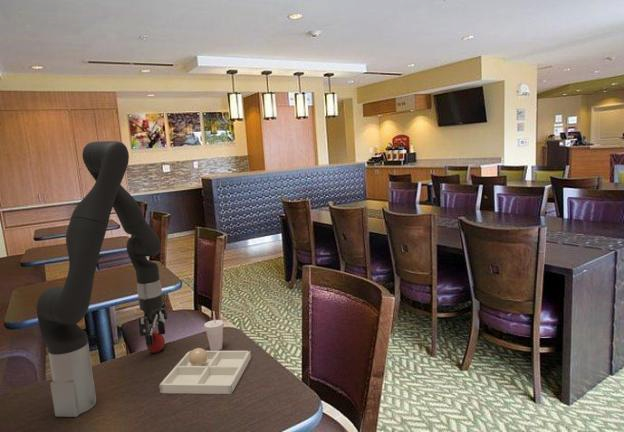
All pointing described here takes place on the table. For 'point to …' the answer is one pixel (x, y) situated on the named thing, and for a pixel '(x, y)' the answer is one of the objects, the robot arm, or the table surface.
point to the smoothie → (214, 333)
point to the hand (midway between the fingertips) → (156, 339)
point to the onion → (156, 342)
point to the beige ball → (198, 357)
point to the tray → (207, 374)
